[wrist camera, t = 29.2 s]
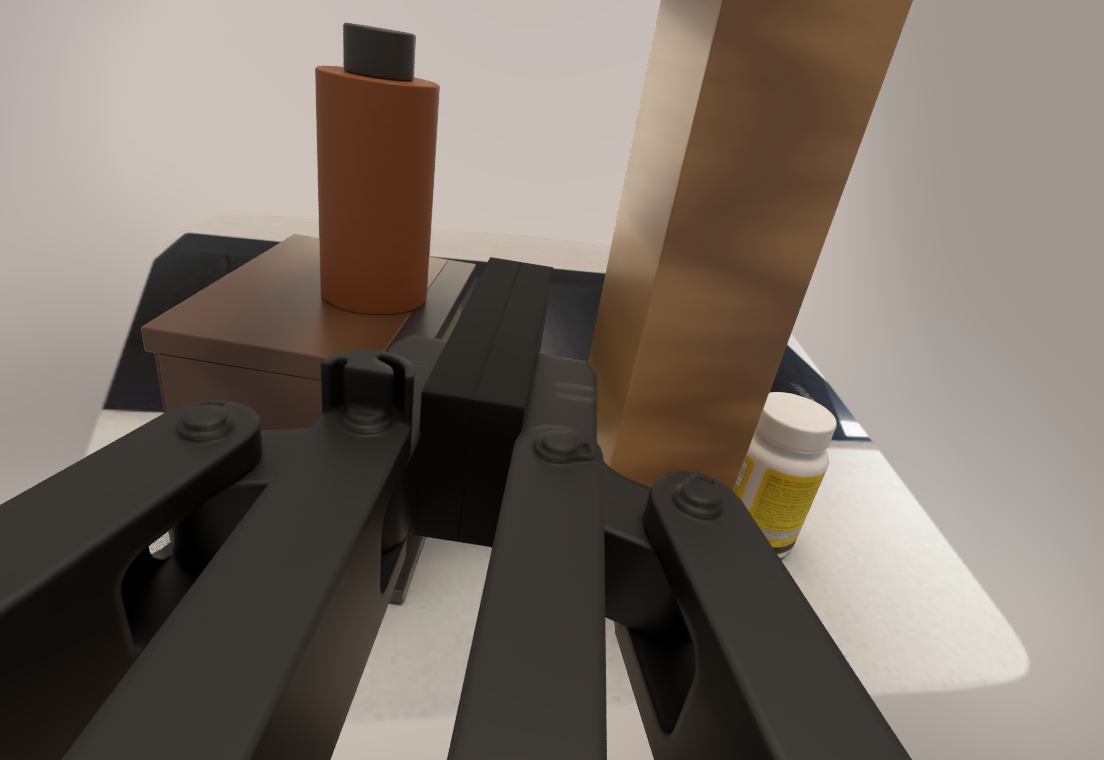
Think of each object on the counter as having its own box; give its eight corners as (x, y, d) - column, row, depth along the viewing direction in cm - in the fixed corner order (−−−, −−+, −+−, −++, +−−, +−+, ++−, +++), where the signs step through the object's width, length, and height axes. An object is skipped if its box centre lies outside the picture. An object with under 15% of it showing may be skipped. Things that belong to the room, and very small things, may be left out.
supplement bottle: (806, 542, 36) (861, 421, 32) (763, 575, 33) (819, 447, 29) (737, 496, 39) (780, 380, 35) (692, 523, 36) (734, 400, 32)
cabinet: (458, 444, 40) (476, 264, 34) (402, 605, 28) (415, 372, 23) (302, 419, 39) (294, 233, 34) (181, 570, 28) (139, 327, 22)
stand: (656, 520, 36) (911, -328, 20) (693, 602, 31) (1080, -452, 15) (555, 519, 35) (738, -388, 18) (576, 605, 30) (855, -549, 13)
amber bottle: (444, 292, 30) (463, 42, 25) (393, 324, 26) (403, 34, 21) (359, 269, 31) (361, 23, 26) (298, 297, 27) (285, 13, 22)
